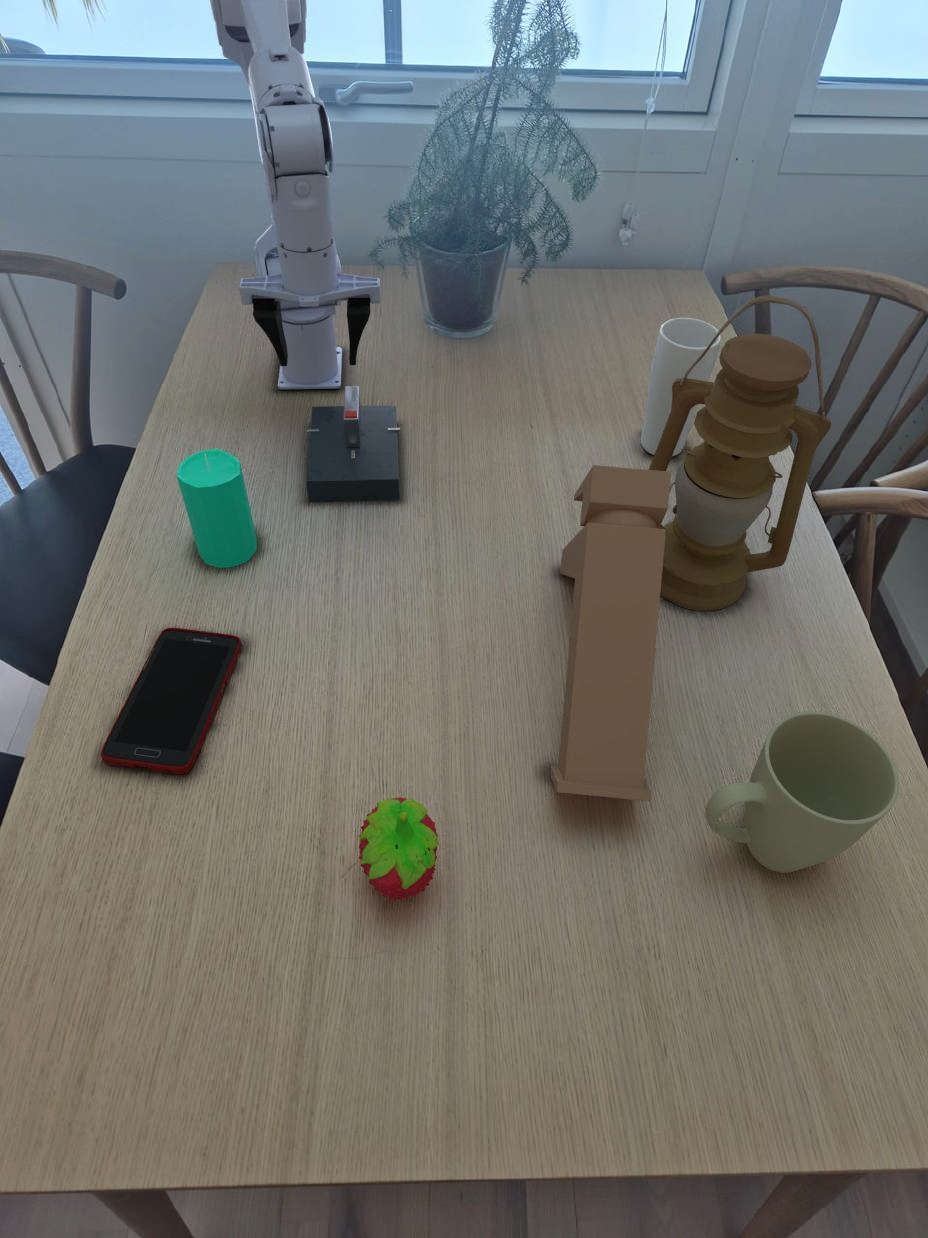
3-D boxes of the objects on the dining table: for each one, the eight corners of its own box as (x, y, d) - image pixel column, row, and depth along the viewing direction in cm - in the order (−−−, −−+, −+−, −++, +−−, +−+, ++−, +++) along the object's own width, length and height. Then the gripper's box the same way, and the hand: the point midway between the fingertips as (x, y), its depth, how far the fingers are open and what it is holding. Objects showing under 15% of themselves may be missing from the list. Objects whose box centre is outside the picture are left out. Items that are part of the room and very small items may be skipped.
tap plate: (311, 425, 101) (309, 403, 98) (399, 424, 102) (398, 402, 99) (305, 502, 91) (302, 479, 89) (402, 500, 92) (401, 477, 90)
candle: (226, 576, 83) (201, 483, 74) (186, 550, 86) (158, 457, 77) (269, 545, 87) (251, 451, 78) (230, 520, 89) (208, 427, 80)
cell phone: (99, 764, 68) (96, 758, 68) (165, 632, 78) (163, 625, 77) (190, 777, 68) (187, 771, 67) (245, 642, 78) (243, 635, 77)
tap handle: (347, 413, 97) (344, 383, 94) (360, 413, 98) (358, 383, 95) (346, 447, 93) (343, 417, 90) (360, 447, 93) (358, 416, 90)
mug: (740, 768, 70) (786, 683, 61) (852, 838, 66) (918, 758, 57) (676, 861, 65) (716, 782, 56) (795, 943, 61) (858, 872, 52)
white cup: (693, 464, 98) (728, 350, 87) (636, 462, 98) (664, 347, 87) (684, 430, 103) (716, 317, 91) (630, 428, 103) (655, 315, 91)
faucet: (607, 754, 85) (629, 512, 85) (651, 801, 62) (680, 470, 62) (538, 747, 85) (560, 506, 85) (556, 792, 62) (586, 462, 62)
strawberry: (437, 831, 66) (439, 764, 58) (438, 923, 61) (439, 863, 53) (364, 831, 65) (356, 764, 58) (359, 924, 60) (349, 864, 53)
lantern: (764, 549, 89) (878, 278, 66) (773, 621, 82) (904, 345, 59) (623, 531, 90) (689, 259, 67) (621, 600, 83) (693, 322, 61)
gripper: (228, 258, 80) (250, 381, 90) (378, 257, 81) (383, 379, 91) (235, 226, 85) (256, 347, 95) (377, 226, 86) (382, 345, 96)
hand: (318, 360), depth 93 cm, fingers open, 7 cm apart
